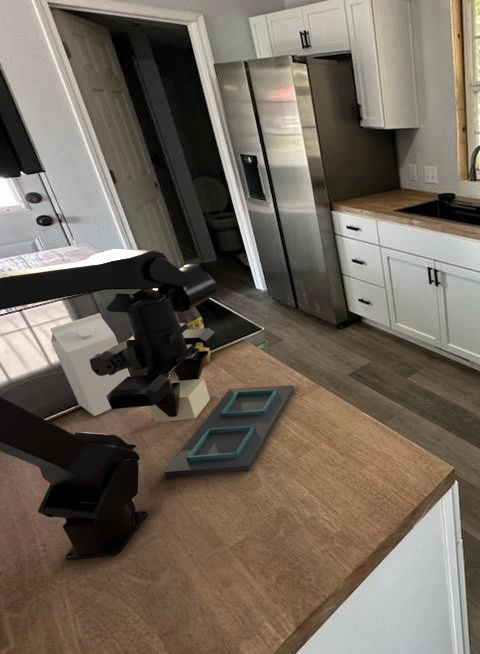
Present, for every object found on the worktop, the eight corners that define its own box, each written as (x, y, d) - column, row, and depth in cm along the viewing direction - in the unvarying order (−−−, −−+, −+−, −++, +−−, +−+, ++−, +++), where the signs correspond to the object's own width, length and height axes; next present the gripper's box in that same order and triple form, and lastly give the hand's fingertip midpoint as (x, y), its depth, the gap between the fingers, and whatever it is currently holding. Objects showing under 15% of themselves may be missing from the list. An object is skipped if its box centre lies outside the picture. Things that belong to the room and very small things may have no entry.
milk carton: (79, 405, 84) (42, 323, 77) (122, 386, 90) (92, 309, 83) (94, 417, 81) (58, 333, 74) (138, 396, 87) (108, 317, 80)
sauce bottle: (195, 372, 95) (172, 294, 88) (173, 368, 97) (148, 291, 89) (219, 357, 101) (199, 283, 94) (198, 353, 103) (176, 280, 95)
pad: (195, 418, 69) (188, 397, 67) (155, 422, 68) (147, 400, 66) (210, 399, 74) (204, 378, 72) (172, 402, 73) (165, 381, 71)
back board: (249, 470, 70) (246, 461, 70) (165, 477, 69) (162, 468, 68) (294, 389, 91) (292, 382, 90) (230, 393, 89) (228, 385, 88)
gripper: (137, 302, 72) (163, 376, 78) (44, 363, 55) (85, 452, 61) (207, 299, 74) (227, 372, 79) (138, 357, 57) (170, 444, 62)
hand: (182, 405), depth 70 cm, fingers closed on pad, 5 cm apart
